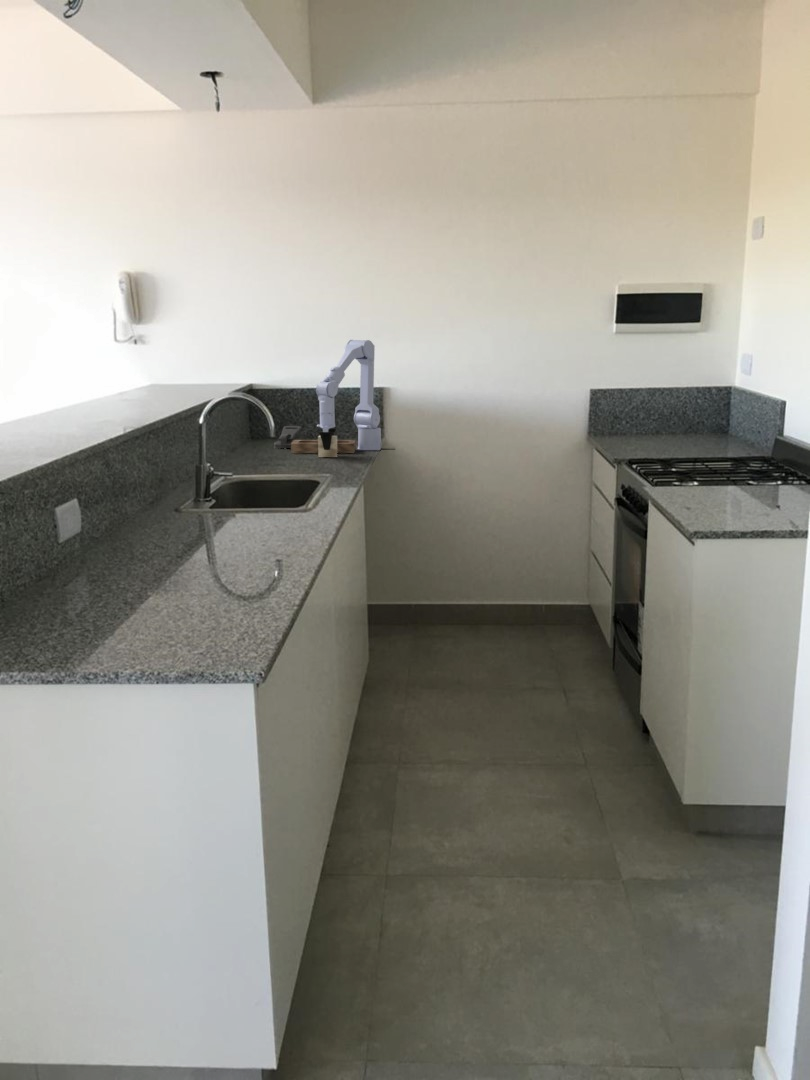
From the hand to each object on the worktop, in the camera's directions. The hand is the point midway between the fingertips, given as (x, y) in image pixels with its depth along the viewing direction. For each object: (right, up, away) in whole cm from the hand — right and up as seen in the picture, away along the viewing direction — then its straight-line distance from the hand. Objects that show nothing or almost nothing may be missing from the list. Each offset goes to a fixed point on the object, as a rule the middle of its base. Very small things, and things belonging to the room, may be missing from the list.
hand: (327, 448), depth 353 cm
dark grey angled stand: (-19, +5, +33) cm, 38 cm away
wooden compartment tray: (-3, 0, +13) cm, 14 cm away
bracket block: (0, -3, +1) cm, 3 cm away
